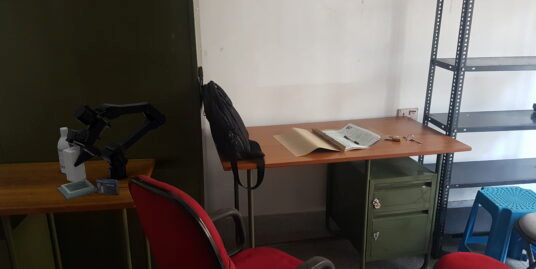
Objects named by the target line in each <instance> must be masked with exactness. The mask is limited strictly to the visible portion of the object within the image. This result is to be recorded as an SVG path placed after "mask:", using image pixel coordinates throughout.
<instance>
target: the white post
mask: <svg viewBox="0 0 536 269" xmlns="http://www.w3.org/2000/svg"><path fill="white" fill-rule="evenodd" d="M79 155H80V148H77V147H71V148H68V149H65V150H63V156H64V162H65V169H66V173H65V174H66V180H67V181H70V182H71V183H72V182H78V181H80V180H84V179H87V175H86V168H85V162H84V163H82V164H80V165H79V166H77V167H75V166H74V164H75V162H76V160H77V158H78V156H79Z"/></svg>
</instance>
